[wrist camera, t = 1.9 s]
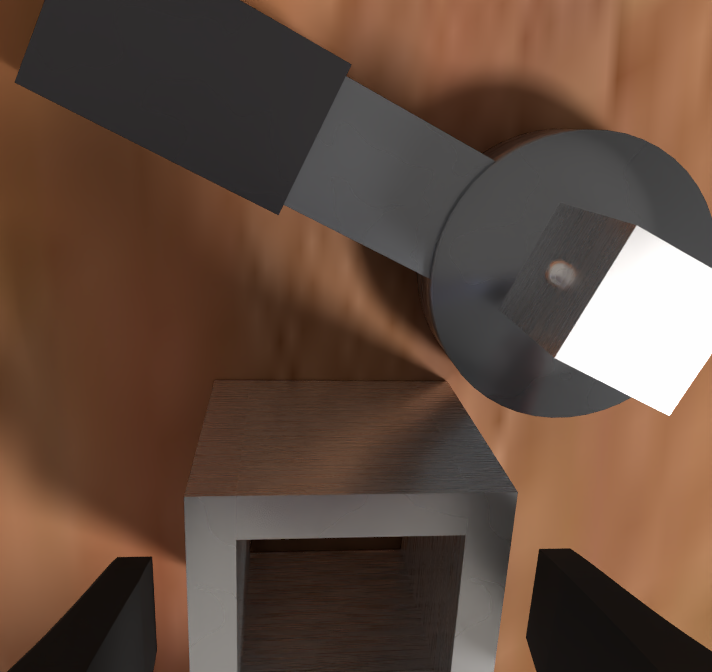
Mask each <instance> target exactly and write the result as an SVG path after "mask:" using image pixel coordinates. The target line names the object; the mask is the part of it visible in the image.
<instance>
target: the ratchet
mask: <svg viewBox="0 0 712 672" xmlns="http://www.w3.org/2000/svg"><path fill="white" fill-rule="evenodd" d="M351 65H352V64H350V63H348V62H346V61H345V60H343V59H341V58H339V57H338V56H336V55H334V54H332V53H331V52H329V51H327V50H326V49H324V48H322V47H320V46H319V45H317V44H315V43H313V42H312V41H310V40H308V39H306V38H305V37H303V36H301V35H299V34H298V33H296V32H294V31H292V30H291V29H289V28H287V27H286V26H284V25H282V24H280V23H279V22H277V21H275V20H273V19H272V18H270V17H268V16H266V15H265V14H263V13H261V12H259V11H258V10H256V9H254V8H252V7H251V6H249V5H247V4H246V3H244V2H242V1H240V0H45V1H44V4H43V7H42V10H41V12H40V15H39V18H38V20H37V23H36V26H35V28H34V31H33V34H32V37H31V39H30V42H29V45H28V47H27V50H26V53H25V56H24V58H23V61H22V64H21V66H20V69H19V72H18V74H17V77H16V80H15V83H17V84H19V85H21V86H23V87H25V88H27V89H29V90H31V91H33V92H35V93H36V94H38V95H40V96H42V97H44V98H46V99H48V100H50V101H52V102H54V103H56V104H58V105H60V106H62V107H64V108H66V109H68V110H70V111H72V112H74V113H76V114H78V115H80V116H82V117H84V118H86V119H88V120H90V121H92V122H94V123H96V124H98V125H100V126H102V127H104V128H106V129H108V130H110V131H112V132H114V133H116V134H118V135H120V136H122V137H124V138H126V139H128V140H130V141H132V142H134V143H136V144H138V145H140V146H142V147H144V148H146V149H148V150H150V151H152V152H154V153H156V154H158V155H160V156H162V157H164V158H166V159H168V160H170V161H172V162H174V163H176V164H178V165H180V166H182V167H184V168H186V169H188V170H190V171H192V172H194V173H196V174H198V175H200V176H202V177H204V178H206V179H208V180H210V181H212V182H214V183H216V184H217V185H219V186H221V187H223V188H225V189H227V190H229V191H231V192H233V193H235V194H237V195H239V196H241V197H243V198H245V199H247V200H249V201H251V202H253V203H255V204H257V205H259V206H261V207H263V208H265V209H267V210H269V211H271V212H273V213H275V214H277V215H279V213H280V211H281V209H282V207H283V205H285V206H287V207H289V208H291V209H293V210H295V211H297V212H299V213H301V214H303V215H305V216H307V217H309V218H311V219H313V220H315V221H317V222H319V223H321V224H323V225H325V226H327V227H329V228H331V229H333V230H335V231H337V232H338V233H340V234H342V235H344V236H346V237H348V238H350V239H352V240H354V241H356V242H358V243H360V244H362V245H364V246H366V247H368V248H370V249H372V250H374V251H376V252H378V253H380V254H382V255H384V256H386V257H388V258H390V259H392V260H394V261H396V262H398V263H400V264H402V265H403V266H405V267H407V268H409V269H411V270H413V271H415V272H417V279H418V292H419V297H420V301H421V306H422V310H423V313H424V315H425V318H426V321H427V323H428V325H429V327H430V329H431V331H432V333H433V335H434V337H435V338H436V340H437V341H438V343H439V344H440V345H441V347H442V348H443V350H444V351H445V353H446V354H447V355H448V357H449V358H450V360H451V361H452V362H453V364H454V365H455V366H456V368H457V369H458V371H459V372H460V373H461V375H462V376H463V377H464V378H465V379H466V380H467V381H468V382H469V383H470V384H471V385H472V386H473V387H474V388H475V389H477V390H478V391H479V392H481V393H482V394H483V395H485V396H486V397H487V398H489V399H491V400H493V401H494V402H496V403H498V404H500V405H502V406H504V407H507V408H509V409H512V410H514V411H517V412H521V413H525V414H529V415H533V416H541V417H551V418H553V417H573V416H580V415H586V414H590V413H594V412H598V411H601V410H604V409H607V408H609V407H612V406H614V405H617V404H620V403H621V402H623V401H625V400H627V399H629V398H631V397H633V398H635V399H637V400H639V401H641V402H643V403H645V404H647V405H649V406H651V407H653V408H655V409H657V410H659V411H661V412H663V413H665V414H667V415H670V414H671V412H672V411H673V409H674V408H675V406H676V405H677V403H678V402H679V400H680V399H681V397H682V396H683V394H684V393H685V392H686V390H687V389H688V387H689V386H690V384H691V383H692V381H693V380H694V378H695V377H696V375H697V374H698V372H699V371H700V370H701V368H702V367H703V365H704V364H705V362H706V361H707V359H708V358H709V356H710V355H711V353H712V217H711V214H710V211H709V209H708V206H707V203H706V201H705V199H704V197H703V195H702V193H701V191H700V189H699V187H698V186H697V184H696V183H695V182H694V180H693V179H692V178H691V176H690V175H689V173H688V172H687V171H686V170H685V169H684V168H683V167H682V166H681V165H680V164H679V163H678V162H677V161H676V160H675V159H674V158H673V157H671V156H670V155H668V154H667V153H666V152H664V151H663V150H662V149H660V148H659V147H657V146H655V145H653V144H651V143H649V142H647V141H645V140H643V139H640V138H637V137H634V136H631V135H628V134H625V133H620V132H614V131H608V130H580V129H549V130H540V131H534V132H530V133H526V134H522V135H519V136H516V137H514V138H511V139H509V140H506V141H504V142H501V143H500V144H498V145H496V146H494V147H492V148H491V149H489V150H487V151H485V152H484V153H483V154H482V153H480V152H478V151H477V150H475V149H473V148H471V147H470V146H468V145H466V144H464V143H463V142H461V141H459V140H457V139H456V138H454V137H452V136H450V135H449V134H447V133H445V132H443V131H442V130H440V129H438V128H436V127H435V126H433V125H431V124H429V123H427V122H426V121H424V120H422V119H420V118H419V117H417V116H415V115H413V114H412V113H410V112H408V111H406V110H405V109H403V108H401V107H399V106H398V105H396V104H394V103H392V102H391V101H389V100H387V99H385V98H384V97H382V96H380V95H378V94H377V93H375V92H373V91H371V90H370V89H368V88H366V87H364V86H363V85H361V84H359V83H357V82H355V81H354V80H352V79H350V78H348V77H347V76H346V75H347V73H348V71H349V69H350V67H351Z"/></svg>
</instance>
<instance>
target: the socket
mask: <svg viewBox="0 0 712 672" xmlns="http://www.w3.org/2000/svg"><path fill="white" fill-rule="evenodd" d="M517 494H518V492H517V490H516V489H515V487H514V486H513V484H512V482H511V481H510V479H509V478H508V476H507V475H506V473H505V471H504V470H503V468H502V467H501V465H500V463H499V462H498V460H497V459H496V457H495V456H494V454H493V452H492V451H491V449H490V448H489V446H488V445H487V443H486V441H485V440H484V438H483V437H482V435H481V434H480V432H479V430H478V429H477V427H476V426H475V424H474V423H473V421H472V419H471V418H470V416H469V415H468V413H467V412H466V410H465V408H464V407H463V405H462V404H461V402H460V401H459V399H458V397H457V396H456V394H455V393H454V391H453V390H452V388H451V386H450V385H449V383H448V382H447V381H275V380H215V381H214V385H213V389H212V392H211V396H210V400H209V404H208V407H207V411H206V415H205V419H204V423H203V426H202V430H201V434H200V438H199V442H198V445H197V449H196V453H195V457H194V460H193V464H192V468H191V472H190V476H189V479H188V483H187V487H186V491H185V494H184V515H185V544H186V573H187V602H188V632H189V661H190V672H494V665H495V658H496V651H497V643H498V636H499V628H500V621H501V613H502V606H503V599H504V591H505V584H506V576H507V569H508V561H509V554H510V546H511V539H512V532H513V524H514V517H515V509H516V502H517ZM396 536H402V543H401V549H399V550H355V551H311V552H268V553H250V540H252V539H300V538H348V537H396Z"/></svg>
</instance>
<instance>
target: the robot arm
mask: <svg viewBox="0 0 712 672" xmlns="http://www.w3.org/2000/svg"><path fill="white" fill-rule="evenodd" d="M526 639H527V642H528V645H529V649H530V652H531V655H532V658H533V662H534V665H535V668H536V671H537V672H712V651H710V650H709V649H707V648H706V647H704V646H703V645H701V644H700V643H698V642H697V641H695V640H694V639H692V638H691V637H690V636H688V635H687V634H685V633H684V632H682V631H681V630H679V629H678V628H677V627H675V626H674V625H672V624H671V623H669V622H668V621H667V620H665V619H664V618H663V617H661V616H660V615H658V614H657V613H656V612H654V611H653V610H652V609H650V608H649V607H648V606H646V605H645V604H644V603H642V602H641V601H640V600H638V599H637V598H636V597H634V596H633V595H632V594H630V593H629V592H628V591H626V590H625V589H624V588H622V587H621V586H620V585H619V584H617V583H616V582H615V581H613V580H612V579H611V578H609V577H608V576H607V575H606V574H604V573H603V572H602V571H600V570H599V569H598V568H596V567H595V566H594V565H592V564H591V563H590V562H588V561H587V560H586V559H584V558H583V557H582V556H580V555H579V554H577V553H576V552H574V551H573V550H572V549H570V548H569V549H539V554H538V561H537V567H536V574H535V581H534V587H533V594H532V601H531V607H530V614H529V621H528V627H527V634H526ZM156 652H157V641H156V622H155V602H154V583H153V564H152V557H117V558H116V559H115V560H114V561H113V562H112V563H111V564H110V565H109V566H108V567H107V568H106V569H105V570H104V571H103V573H102V574H101V575H100V576H99V577H98V578H97V579H96V581H95V582H94V583H93V584H92V585H91V586H90V587H89V589H88V590H87V591H86V592H85V593H84V594H83V595H82V596H81V597H80V599H79V600H78V601H77V602H76V603H75V604H74V605H73V606H72V607H71V608H70V610H69V611H68V612H67V613H66V614H65V615H64V616H63V617H62V618H61V619H60V620H59V621H58V622H57V623H56V624H55V625H54V626H53V627H52V628H51V629H50V630H49V631H48V633H47V634H46V635H45V636H44V637H43V638H42V639H41V640H40V641H39V642H38V643H37V644H36V645H35V646H34V647H33V648H32V649H31V650H30V651H28V652H27V653H26V654H25V655H24V656H23V657H22V658H21V659H20V660H19V661H18V662H17V663H16V664H15V665H14V666H13V667H12V668H11V669H10V670H8V671H7V672H153V670H154V664H155V658H156Z"/></svg>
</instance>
